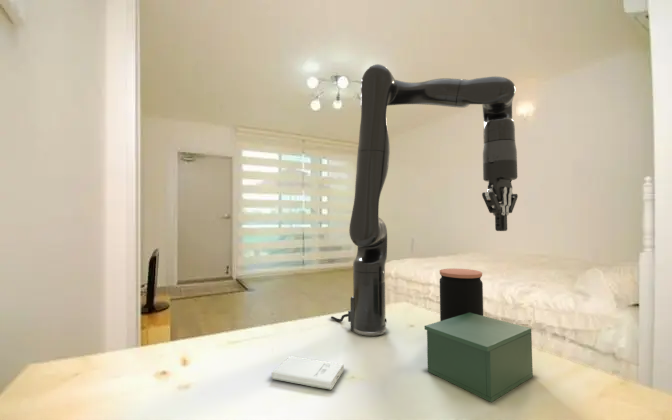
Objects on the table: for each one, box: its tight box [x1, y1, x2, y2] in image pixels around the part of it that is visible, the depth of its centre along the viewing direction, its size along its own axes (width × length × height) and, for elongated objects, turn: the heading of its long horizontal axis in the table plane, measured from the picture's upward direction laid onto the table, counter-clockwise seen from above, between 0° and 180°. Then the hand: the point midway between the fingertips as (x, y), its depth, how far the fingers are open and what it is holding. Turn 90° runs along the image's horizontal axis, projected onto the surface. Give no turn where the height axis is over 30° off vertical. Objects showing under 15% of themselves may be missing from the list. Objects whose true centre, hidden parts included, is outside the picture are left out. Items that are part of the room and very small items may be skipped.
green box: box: [426, 330, 534, 403], centre depth 64 cm, size 16×14×9 cm
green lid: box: [424, 312, 532, 352], centre depth 64 cm, size 16×14×1 cm
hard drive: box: [271, 355, 345, 391], centre depth 63 cm, size 2×8×12 cm
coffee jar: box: [439, 268, 484, 321], centre depth 82 cm, size 11×11×18 cm
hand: (501, 230), depth 76 cm, fingers closed
